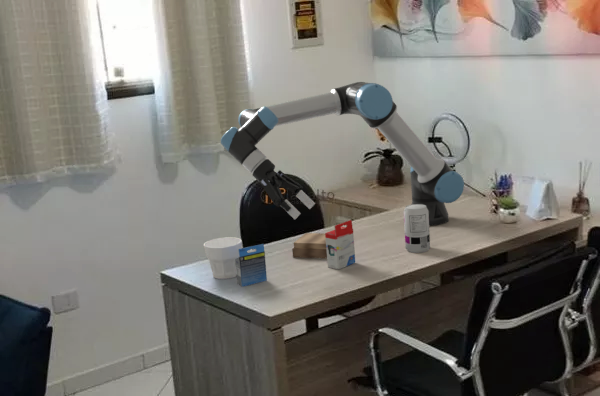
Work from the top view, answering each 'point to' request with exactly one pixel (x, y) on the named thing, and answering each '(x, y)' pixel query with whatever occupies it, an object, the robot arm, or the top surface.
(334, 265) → the ink box
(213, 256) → the cup
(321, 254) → the pedestal
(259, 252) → the label tape box
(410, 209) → the supplement can
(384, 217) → the top surface
